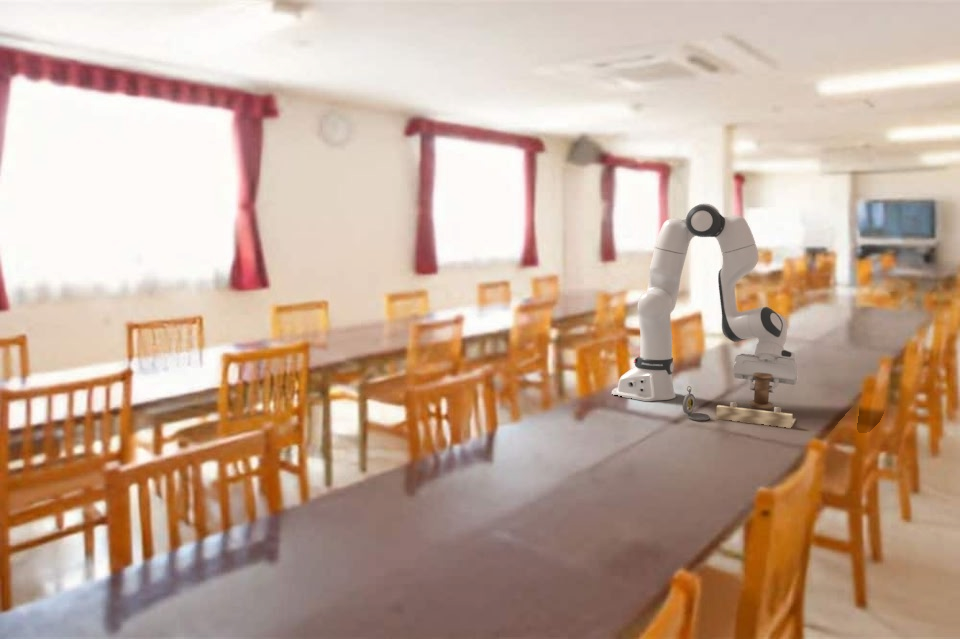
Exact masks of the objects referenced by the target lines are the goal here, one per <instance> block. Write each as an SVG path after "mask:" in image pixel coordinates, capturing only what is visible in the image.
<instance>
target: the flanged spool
mask: <svg viewBox="0 0 960 639" xmlns="http://www.w3.org/2000/svg"><path fill="white" fill-rule="evenodd" d="M754 377H755V380H754V384H755V391H754V392H753V393H754V394H753V395H754V396H753V399H752V400H750V401H749V407H751V408H752V409H757V410H771V409H773V402H771V401H769V396H770V392H769V391H768V389H769V386H770V385H771V384H770V383H771V382H770V378H772V374H768V373H759V372H757V373H754Z"/></svg>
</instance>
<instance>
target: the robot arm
mask: <svg viewBox="0 0 960 639" xmlns="http://www.w3.org/2000/svg"><path fill="white" fill-rule="evenodd" d="M694 237H698V238H715V239H716V240H717V242H718V245H719V246H720V251H721V255H722V266H721V268H720V269H719V271H718V274H717V277H718V291H719V301H720V308H721V330H722V334H723V336H725V337H726V338H727V339H728V340H729V341H731V342H734V343H738V342H741V341H745V340H748V339H755V338H757V340H758V341H757V344H756V346H755V350H754V354H752V353H751V354H749V353H748V354H747V353H740V354H738V355H736V356H735V357H734V364H733V367H732V375H733V377H734V378H735V379H741V380H748V384H749V390H750V391H754V392H755V383H754V381H755V377H754V373H757V372H759V373H768V374H772V378H770V383H772V385H769V389H768V391H769V394H774V393H775V389H776V388H778V387H779V386H780V384H785V385H792V386H793V385H796V384H798V381H799V371H798V370H799V369H798V364H797V357H796V353H794V352H792V351H790V350H787V349H785V348H784V346H785V343H786V342H787V336H788V326H787V325H788V324H787V319H786V318H785V317H784V316H783V315H781V314H780V313H777V312H776V311H774V309H772V308H770V307H768V306H764V307H763V306H762V307H755V308H752V309H748V310H743V311H739V310H738V308H737V307H738V306H737V298H736V290H735V288H736V285H737V283H738V282H739V280H741V279H742V278H743V277H745V276H746V275H748V274H749V273H750V272H751V271H753V270H754V269H755V267H756V265H757V264H758V261H759V253H758V252H759V250H758V248H757V244H756V241H755V238H754V235H753V233H752V230H751V227H750V226H749V224H748V222H747V220H746V219H745V218H744V217H743V216H740V215H730V216H723V215H722V214H721V212H720V211H719V209H718V208H716V207H715V206H714V205H713V204H710V203H699V204H698V205H695V206H694V207H692V208H691V209H690V210H689V211H688V213H687V215H686V217H684V218H678V217H677V218H676V217H673V218H669V219H667V220H665V221H664V222H663V224H662V226H661V228H660V230H659V232H658V235H657V238H656V241H655V245H654V249H653V253H652V256H651V262H650V265H649V274H648V282H647V287H646V291H645V292H643V293H642V294H641V295H640V297H639V298H638V301H637V312H638V313H637V314H638V326H639V332H640V333H639V334H640V335H639V338H640V340H639V341H640V343H639V344H640V345H639V349H640V351H639V355H637V356H636V358H634V359H633V363H634V366H633V367H632V368H631V369H629V370H628V371H626V372H625V373H624V374H622V375H621V376H620V378H619V380H618V385H617V386H616V387H615V388H613V389H612V390H611V395H612V394H613V395H612V396H614V395H618V396H617V397H620V396H622V398H627V399H631V398H632V400H638V401H644V402H655V401H667V400H668V401H669V400H673V399H675V398H676V397H677V396H676V393H675V387H674V383H673V372H674V359H673V333H672V325H671V324H672V323H671V314H672V313H673V311H674V310H675V307H676V304H677V300H678V299H677V298H678V294H679V288H680V283H681V277H682V273H683V268H684V265H685V260H686V257H687V254H688V250H689V246H690V243H691V241H692V239H694Z"/></svg>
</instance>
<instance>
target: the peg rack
mask: <svg viewBox="0 0 960 639" xmlns="http://www.w3.org/2000/svg"><path fill="white" fill-rule="evenodd" d="M715 417H716V418H715V419H716V420H723V421H729V420H732V421H731V422H737V421H740V422H739V423H745V422H749V423H748V424H753V423H757V424H756V425H761V424H764V425H763V426H769V425H771V426H770V427H776V426H778V427H777V428H784V427H786V428H785V429H792V428H791V427H793V425H794V424H795V423H796V420H797V419H796V418H793V417H794V416H793V413H788V412H782V407H780V406H774V408H773V411H770V410H764V409H756V408H745V407H738V402H736V401H731V402H730V404H729V405H728V406H727V405H720V404H718V405H716V416H715Z"/></svg>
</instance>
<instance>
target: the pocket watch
mask: <svg viewBox="0 0 960 639" xmlns="http://www.w3.org/2000/svg"><path fill="white" fill-rule="evenodd" d="M686 391H687V392H688V393H687V394H685V396H684V398H683V402H682V410H683V412H684V413H685V414H686V415H687V417H688V419H690V420H693V421H701V422H703V421H707V420H710V419H711V416H710V415H709V414H707V413H700V412H693V411H694V410H695V406H696V398H695V396H694V393H691V392H692V387H691V386H690V385H687V388H686Z"/></svg>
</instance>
